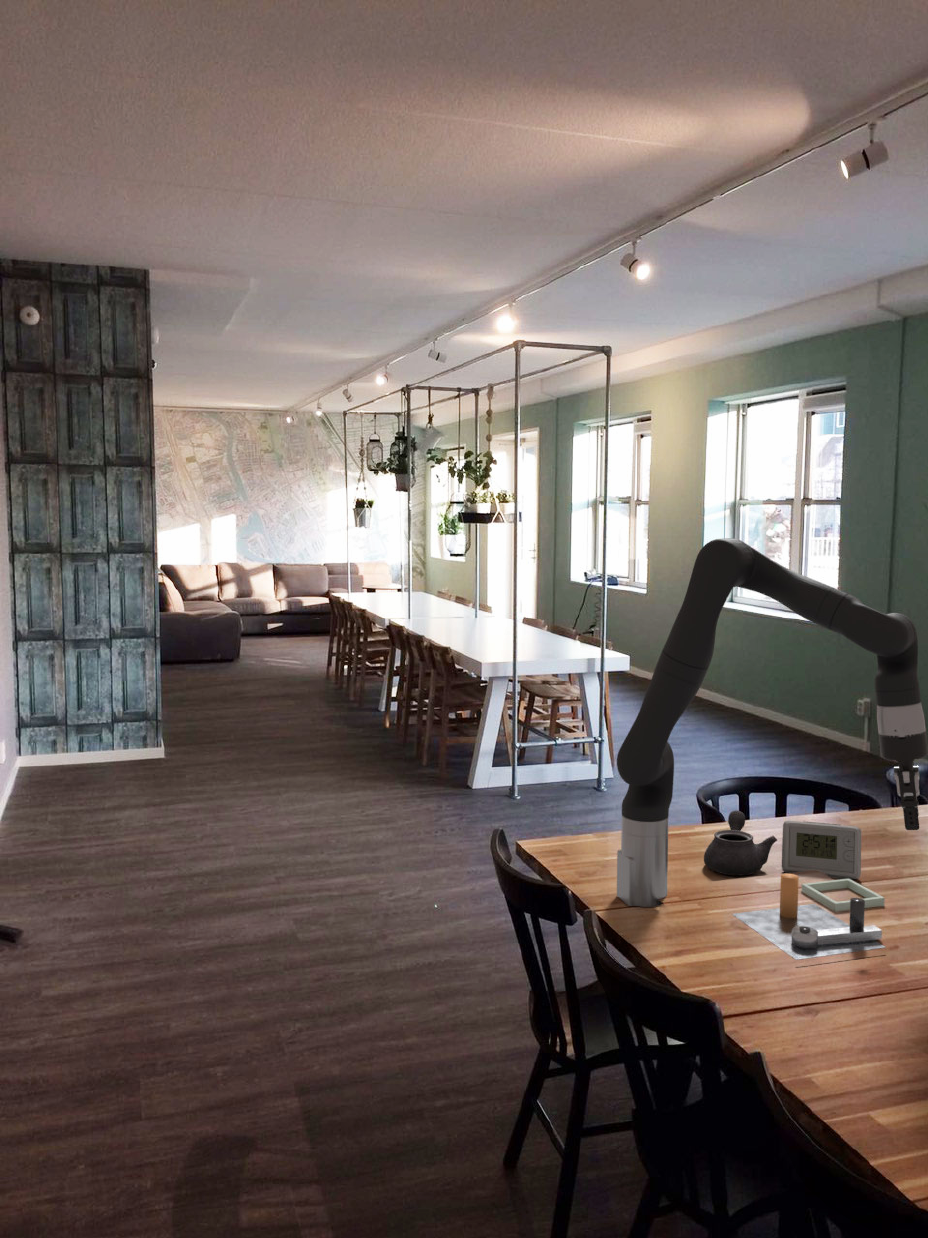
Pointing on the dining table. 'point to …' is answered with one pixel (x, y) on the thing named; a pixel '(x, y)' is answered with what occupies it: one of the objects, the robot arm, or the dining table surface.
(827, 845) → the digital clock
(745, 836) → the teapot
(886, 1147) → the dining table surface
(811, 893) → the tray
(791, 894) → the pin
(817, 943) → the crank
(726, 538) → the robot arm
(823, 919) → the crank base
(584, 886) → the dining table surface
